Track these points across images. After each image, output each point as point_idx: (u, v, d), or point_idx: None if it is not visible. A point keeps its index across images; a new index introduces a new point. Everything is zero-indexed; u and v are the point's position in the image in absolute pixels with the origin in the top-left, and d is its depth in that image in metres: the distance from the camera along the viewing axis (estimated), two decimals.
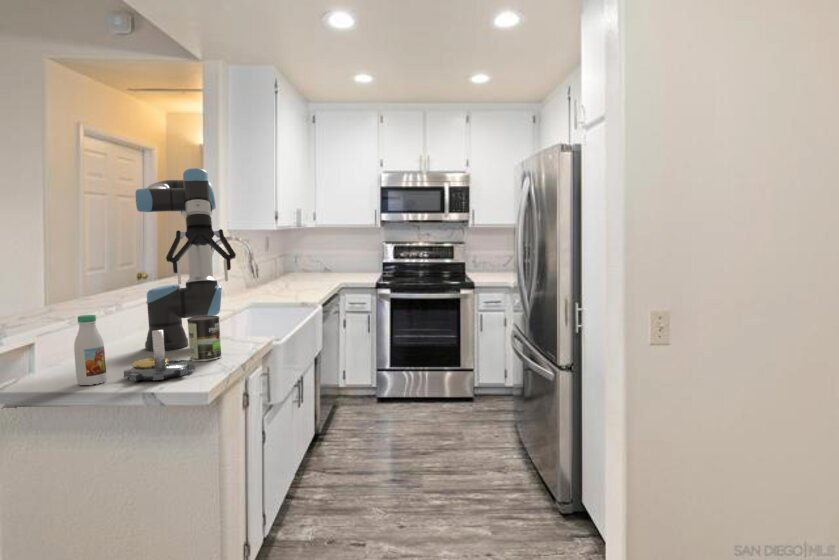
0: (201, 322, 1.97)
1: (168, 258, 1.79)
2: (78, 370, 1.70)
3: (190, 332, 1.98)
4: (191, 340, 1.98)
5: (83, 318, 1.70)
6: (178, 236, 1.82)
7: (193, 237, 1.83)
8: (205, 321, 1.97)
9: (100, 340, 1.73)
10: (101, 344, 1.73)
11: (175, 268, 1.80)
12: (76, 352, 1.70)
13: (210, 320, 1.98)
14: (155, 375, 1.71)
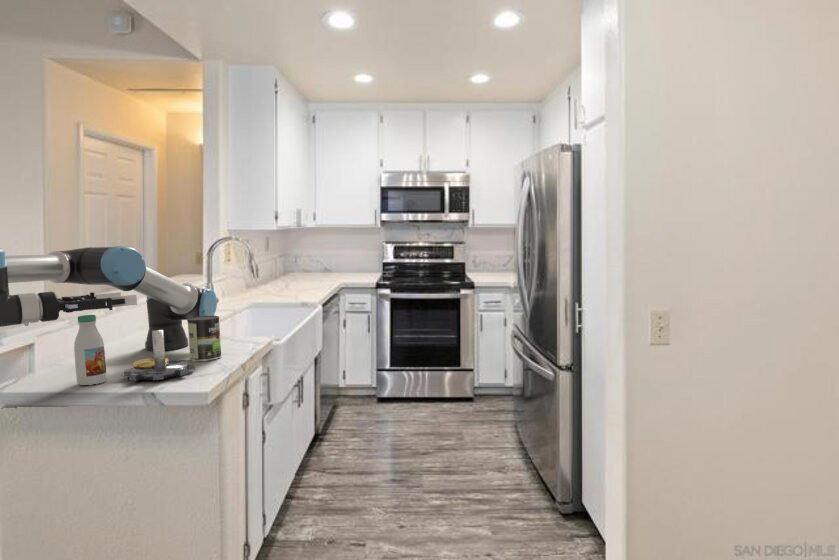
0: (201, 322, 1.97)
1: None
2: (78, 370, 1.70)
3: (190, 332, 1.98)
4: (191, 340, 1.98)
5: (83, 318, 1.70)
6: None
7: None
8: (205, 321, 1.97)
9: (100, 340, 1.73)
10: (101, 344, 1.73)
11: None
12: (76, 352, 1.70)
13: (210, 320, 1.98)
14: (155, 375, 1.71)
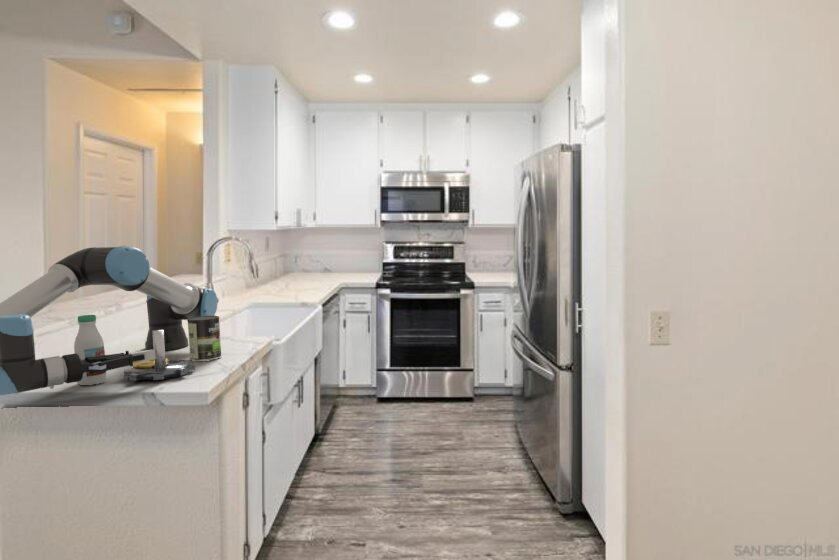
0: (201, 322, 1.97)
1: None
2: None
3: (190, 332, 1.98)
4: (191, 340, 1.98)
5: (83, 318, 1.70)
6: None
7: None
8: (205, 321, 1.97)
9: (100, 340, 1.73)
10: (101, 344, 1.73)
11: None
12: (76, 352, 1.70)
13: (210, 320, 1.98)
14: (156, 375, 1.71)
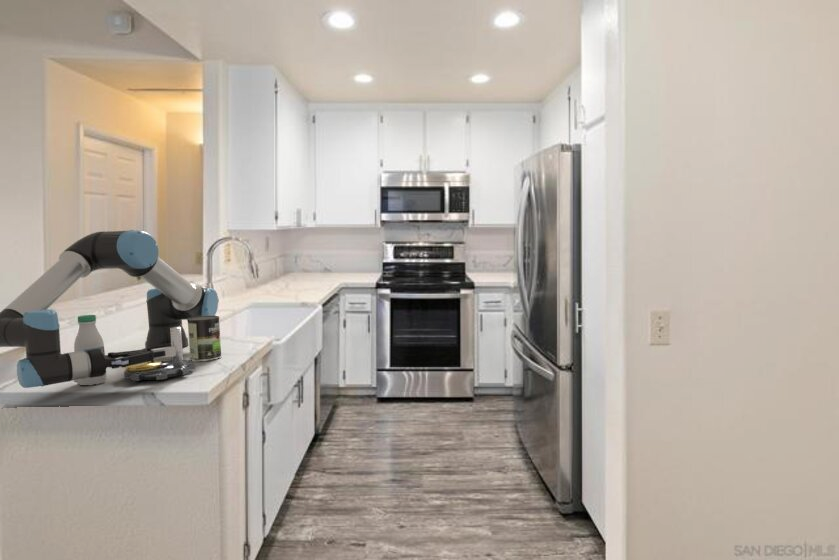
0: (201, 322, 1.97)
1: None
2: None
3: (190, 332, 1.98)
4: (191, 340, 1.98)
5: (83, 318, 1.70)
6: None
7: None
8: (205, 321, 1.97)
9: (100, 340, 1.73)
10: (101, 344, 1.73)
11: None
12: None
13: (210, 320, 1.98)
14: (184, 370, 1.76)
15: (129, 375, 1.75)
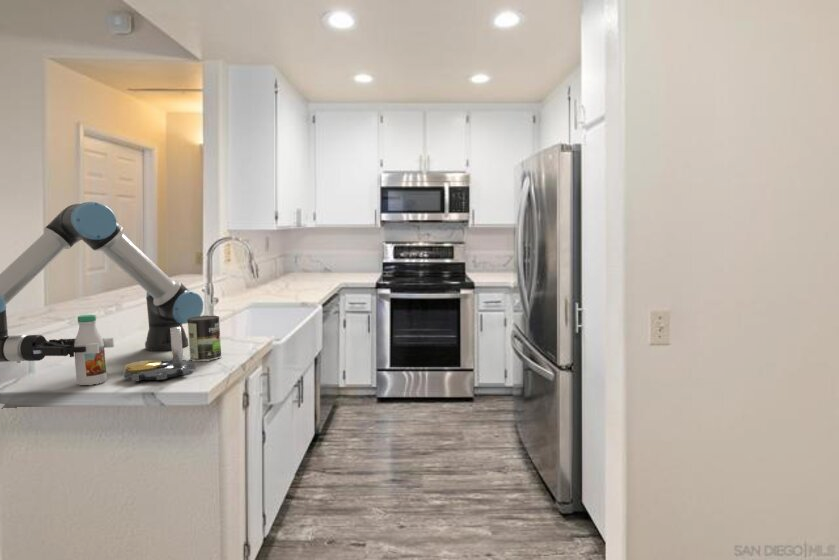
0: (201, 322, 1.97)
1: None
2: (78, 370, 1.70)
3: (190, 332, 1.98)
4: (191, 340, 1.98)
5: (83, 318, 1.70)
6: None
7: None
8: (205, 321, 1.97)
9: (100, 340, 1.73)
10: (101, 344, 1.73)
11: None
12: None
13: (210, 320, 1.98)
14: (184, 370, 1.76)
15: (129, 375, 1.75)
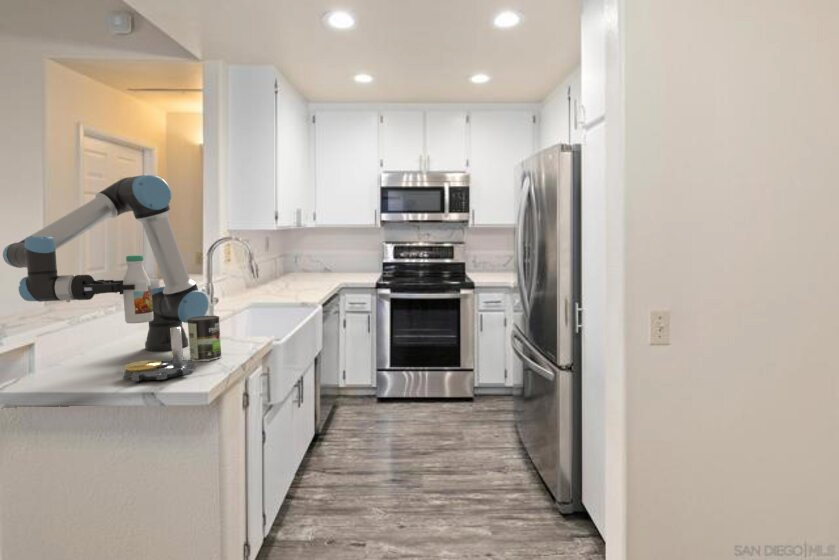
0: (201, 322, 1.97)
1: None
2: (127, 308, 1.74)
3: (190, 332, 1.98)
4: (191, 340, 1.98)
5: (132, 257, 1.74)
6: None
7: None
8: (205, 321, 1.97)
9: (148, 279, 1.77)
10: (148, 283, 1.77)
11: None
12: None
13: (210, 320, 1.98)
14: (184, 370, 1.76)
15: (129, 375, 1.75)
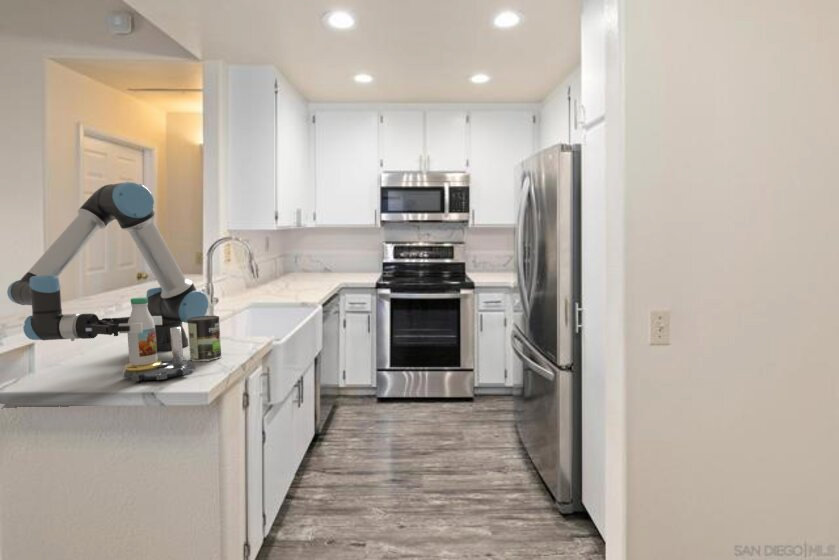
0: (201, 322, 1.97)
1: None
2: (131, 350, 1.76)
3: (190, 332, 1.98)
4: (191, 340, 1.98)
5: (136, 300, 1.76)
6: None
7: None
8: (205, 321, 1.97)
9: (152, 322, 1.78)
10: (153, 325, 1.78)
11: None
12: (129, 333, 1.75)
13: (210, 320, 1.98)
14: (184, 370, 1.76)
15: (129, 375, 1.75)
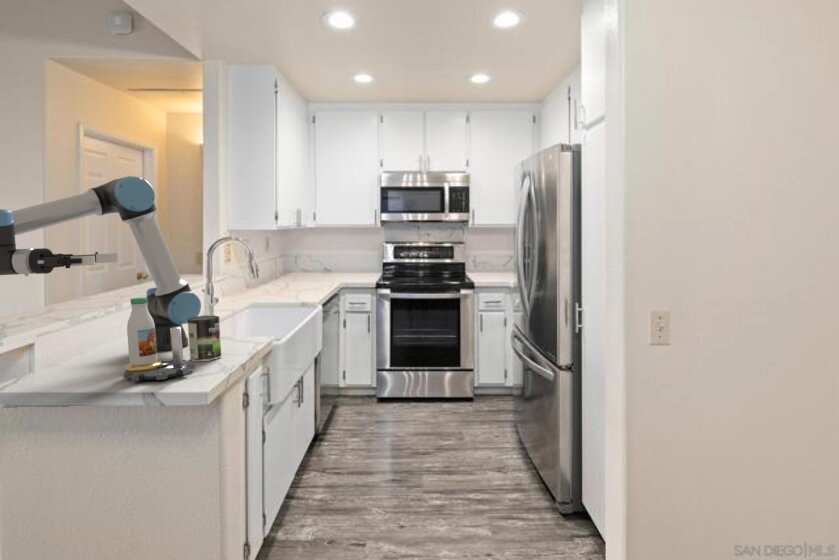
0: (201, 322, 1.97)
1: None
2: (131, 350, 1.76)
3: (190, 332, 1.98)
4: (191, 340, 1.98)
5: (136, 300, 1.76)
6: None
7: None
8: (205, 321, 1.97)
9: (152, 322, 1.78)
10: (153, 325, 1.78)
11: None
12: (129, 333, 1.75)
13: (210, 320, 1.98)
14: (184, 370, 1.76)
15: (129, 375, 1.75)
